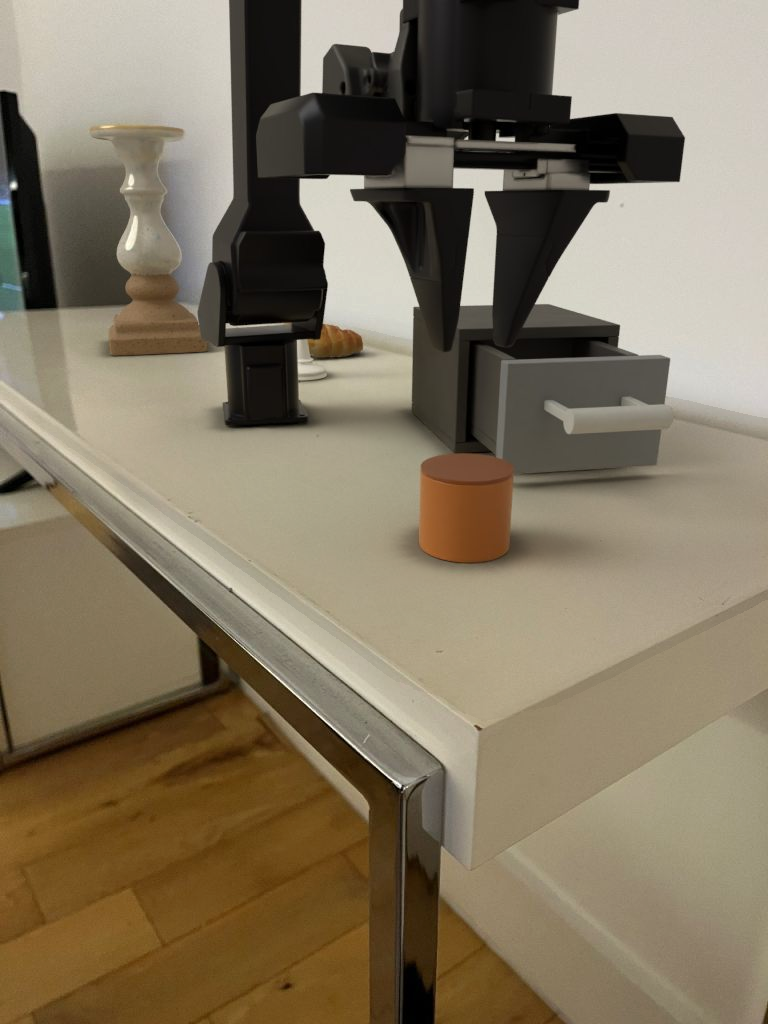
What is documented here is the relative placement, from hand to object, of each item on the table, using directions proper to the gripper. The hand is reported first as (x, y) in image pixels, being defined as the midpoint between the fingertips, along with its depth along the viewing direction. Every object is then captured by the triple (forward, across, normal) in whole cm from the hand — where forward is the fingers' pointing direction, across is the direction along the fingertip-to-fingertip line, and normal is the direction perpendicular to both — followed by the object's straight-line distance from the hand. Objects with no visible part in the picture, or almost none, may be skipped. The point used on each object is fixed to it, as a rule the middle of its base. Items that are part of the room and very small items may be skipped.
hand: (473, 348), depth 39 cm
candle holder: (+10, 0, -68) cm, 69 cm away
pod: (+10, 0, 0) cm, 10 cm away
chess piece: (+10, -9, -44) cm, 46 cm away
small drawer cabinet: (+10, -16, -19) cm, 26 cm away
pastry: (+10, -15, -55) cm, 58 cm away
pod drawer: (+9, -13, -8) cm, 18 cm away
